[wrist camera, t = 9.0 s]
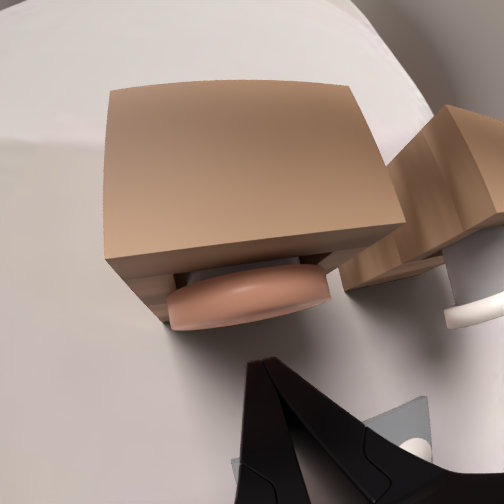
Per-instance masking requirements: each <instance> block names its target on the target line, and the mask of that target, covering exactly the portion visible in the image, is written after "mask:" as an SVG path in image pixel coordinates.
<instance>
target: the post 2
mask: <svg viewBox="0 0 504 504" xmlns="http://www.w3.org/2000/svg"><path fill="white" fill-rule="evenodd" d="M386 169H387V171H388V174H389V176H390V179H391V181H392V184H393V187H394V189H395V192H396V195H397V197H398V200H399V203H400V206H401V209H402V211H403V214H404V217H405V220H406V223H404V224H403V225H401V226H400V227H399V228H397V229H396V230H394V231H393V232H391V233H390V234H388V235H387V236H385V237H384V238H382V239H381V240H379V241H378V242H376V243H375V244H373V245H372V246H370V247H369V248H367V249H366V250H364V251H362V252H361V253H359V254H358V255H356V256H355V257H353V258H352V259H350V260H349V261H347V262H345V263H344V264H342V265H341V266H339V271H340V275H341V279H342V283H343V287H344V291H348V290H352V289H357V288H362V287H366V286H371V285H375V284H380V283H384V282H389V281H393V280H397V279H402V278H406V277H410V276H414V275H418V274H421V273H424V272H426V271H428V270H431V269H433V268H435V267H438V266H440V265H442V264H444V263H445V261H444V258H443V254H442V251H441V250H442V249H443V248H445V247H447V246H449V245H451V244H453V243H455V242H457V241H459V240H461V239H463V238H465V237H467V236H469V235H470V234H472V233H474V232H476V231H478V230H480V229H484V228H490V227H496V226H502V225H504V122H503V121H500V120H496V119H494V118H491V117H487V116H484V115H481V114H478V113H475V112H471V111H468V110H465V109H461V108H457V107H454V106H450V105H446V104H445V105H444V106H443V107H442V108H441V109H440V110H439V111H438V113H437V114H436V115H435V116H434V117H433V118H432V119H431V120H430V121H429V122H428V123H427V124H426V125H425V126H424V127H423V128H422V130H421V131H420V132H419V133H418V134H417V135H416V136H415V137H414V138H413V139H412V140H411V141H410V142H409V143H408V144H407V145H406V146H405V147H404V148H403V149H402V150H401V152H400V153H399V154H398V155H397V156H396V157H395V158H394V159H393V160H392V161H391V162H390V163H389V164H388V165H387V166H386Z"/></svg>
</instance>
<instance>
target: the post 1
mask: <svg viewBox="0 0 504 504" xmlns="http://www.w3.org/2000/svg"><path fill="white" fill-rule="evenodd" d="M404 223H406V220H405V217H404V214H403V211H402V209H401V206H400V203H399V200H398V197H397V195H396V192H395V189H394V187H393V184H392V181H391V179H390V176H389V174H388V171H387V169H386V166H385V164H384V161H383V159H382V156H381V154H380V152H379V149H378V147H377V145H376V142H375V140H374V138H373V136H372V133H371V131H370V129H369V127H368V125H367V122H366V120H365V118H364V116H363V114H362V112H361V110H360V108H359V106H358V104H357V102H356V100H355V98H354V96H353V94H352V92H351V90H350V88H349V86H343V85H333V84H323V83H312V82H297V81H277V80H214V81H194V82H179V83H168V84H158V85H149V86H140V87H133V88H126V89H119V90H113V91H110V97H109V106H108V115H107V126H106V139H105V156H104V183H103V228H104V255H105V260H106V261H107V262H108V264H109V265H110V266H111V267H112V268H113V269H114V271H115V272H116V273H117V274H118V275H119V276H120V277H121V279H122V280H123V281H124V282H125V283H126V284H127V285H128V286H129V287H130V289H131V290H132V291H133V292H134V293H135V294H136V295H137V296H138V297H139V298H140V299H141V301H142V302H143V303H144V304H145V305H146V306H147V307H148V308H149V309H150V310H151V311H152V312H153V313H154V314H155V315H156V316H157V317H158V319H159V320H160V321H161V322H167V321H170V318H169V312H168V305H167V297H168V295H169V294H171V293H172V292H174V291H176V290H178V289H180V288H182V287H185V286H187V283H186V276H185V272H191V271H199V270H206V269H213V268H221V267H228V266H235V265H243V264H250V263H257V262H264V261H271V260H278V259H285V258H292V257H299V261H300V264H311V265H318V266H321V267H323V268H324V271H325V275H326V274H328V273H330V272H331V271H333V270H334V269H336V268H338V267H339V266H341V265H342V264H344V263H345V262H347V261H349V260H350V259H352V258H353V257H355V256H356V255H358V254H359V253H361V252H362V251H364V250H366V249H367V248H369V247H370V246H372V245H373V244H375V243H376V242H378V241H379V240H381V239H382V238H384V237H385V236H387V235H388V234H390V233H391V232H393V231H394V230H396V229H397V228H399V227H400V226H401V225H403V224H404Z"/></svg>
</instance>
